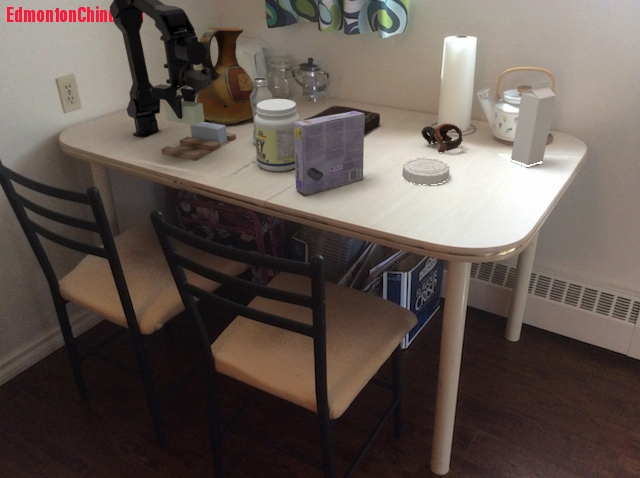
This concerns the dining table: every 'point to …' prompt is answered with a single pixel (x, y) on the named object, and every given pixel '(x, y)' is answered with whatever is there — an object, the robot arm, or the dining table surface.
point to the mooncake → (425, 171)
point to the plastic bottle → (259, 97)
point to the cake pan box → (329, 151)
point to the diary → (370, 117)
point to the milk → (533, 124)
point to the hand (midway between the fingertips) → (185, 116)
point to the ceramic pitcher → (225, 80)
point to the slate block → (209, 132)
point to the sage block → (186, 113)
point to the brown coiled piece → (442, 136)
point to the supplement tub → (275, 134)
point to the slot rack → (195, 147)
